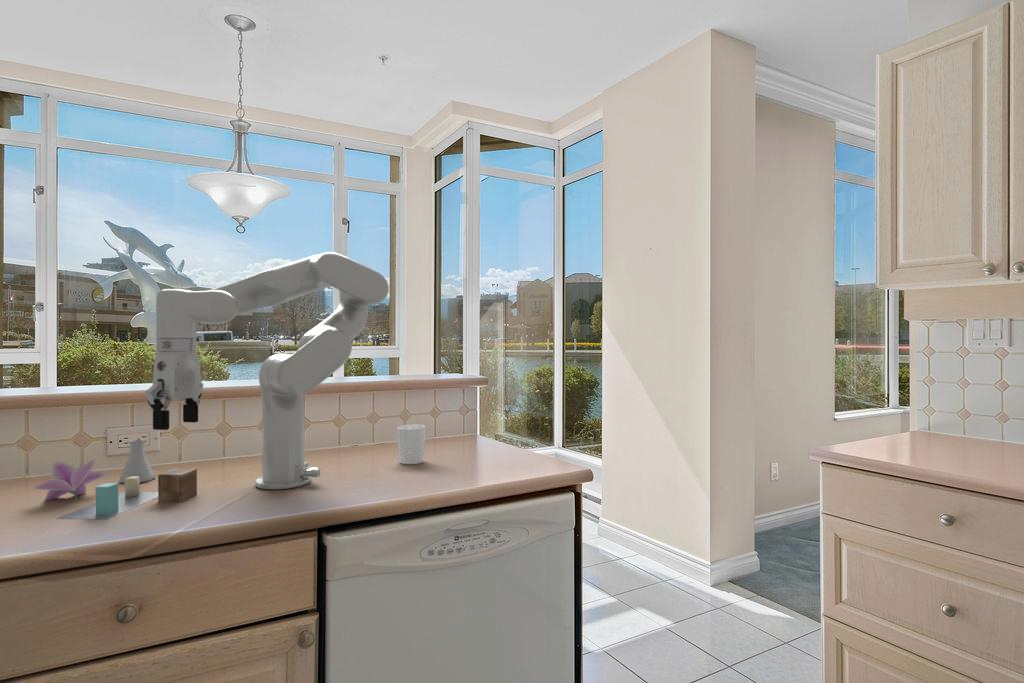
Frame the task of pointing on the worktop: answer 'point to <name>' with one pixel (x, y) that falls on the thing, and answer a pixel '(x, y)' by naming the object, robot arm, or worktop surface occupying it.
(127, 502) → the slate stand
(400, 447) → the white cup
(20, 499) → the worktop surface
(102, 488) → the teal post
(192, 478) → the wooden grain cube
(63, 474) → the lily
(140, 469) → the flask
